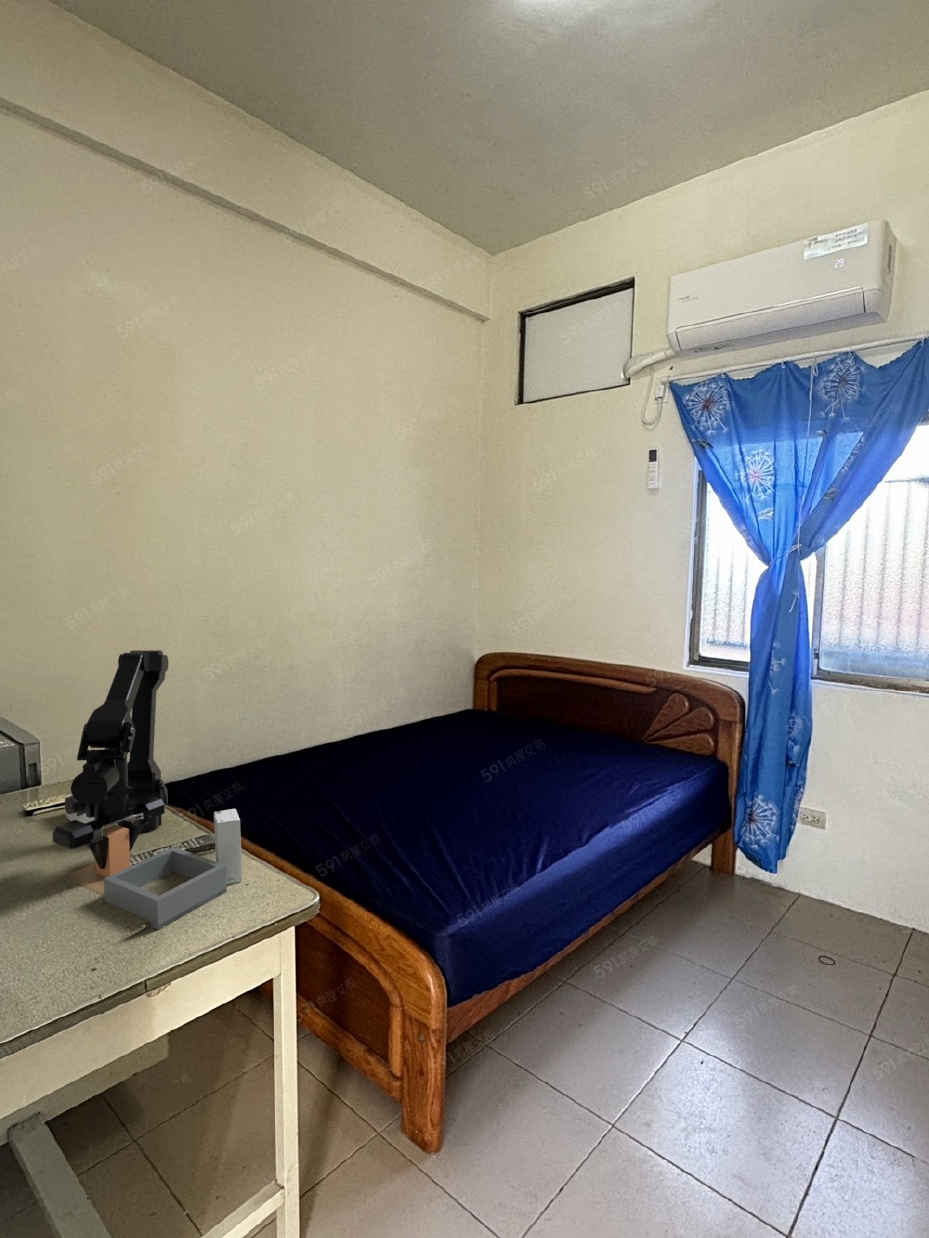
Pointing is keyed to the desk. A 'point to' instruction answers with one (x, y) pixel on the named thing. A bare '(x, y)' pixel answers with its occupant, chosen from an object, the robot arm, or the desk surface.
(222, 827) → the skincare box
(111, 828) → the tan wooden brick
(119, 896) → the bin
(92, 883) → the stud base
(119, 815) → the robot arm
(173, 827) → the desk surface
